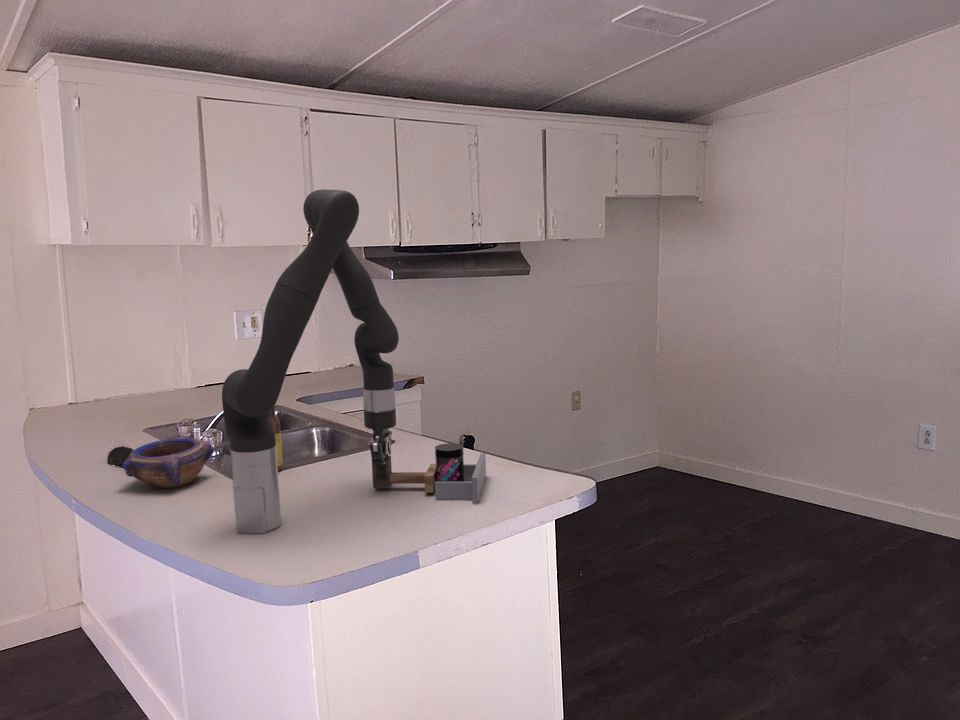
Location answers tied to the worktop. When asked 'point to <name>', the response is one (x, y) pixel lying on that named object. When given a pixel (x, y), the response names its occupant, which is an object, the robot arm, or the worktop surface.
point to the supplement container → (449, 462)
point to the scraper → (405, 477)
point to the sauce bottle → (276, 436)
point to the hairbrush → (119, 455)
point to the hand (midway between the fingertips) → (382, 477)
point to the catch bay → (464, 483)
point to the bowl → (169, 461)
